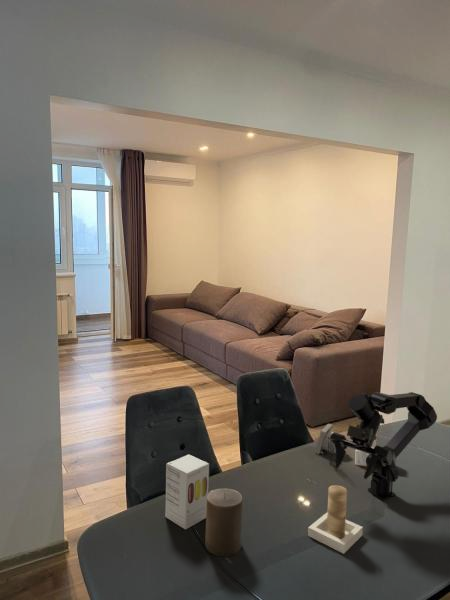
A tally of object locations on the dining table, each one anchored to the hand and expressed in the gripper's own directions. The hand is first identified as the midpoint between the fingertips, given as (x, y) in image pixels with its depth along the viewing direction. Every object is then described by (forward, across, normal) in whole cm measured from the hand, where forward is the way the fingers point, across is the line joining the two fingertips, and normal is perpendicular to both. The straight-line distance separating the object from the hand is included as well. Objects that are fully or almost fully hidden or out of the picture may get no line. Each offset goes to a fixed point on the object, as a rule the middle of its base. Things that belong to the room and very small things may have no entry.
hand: (350, 473), depth 135 cm
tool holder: (+18, +2, +2) cm, 18 cm away
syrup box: (-22, -2, +37) cm, 43 cm away
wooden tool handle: (+17, +2, +1) cm, 17 cm away
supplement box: (+34, -35, -15) cm, 51 cm away
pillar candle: (+36, -18, -16) cm, 43 cm away
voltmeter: (-12, -23, +32) cm, 41 cm away
